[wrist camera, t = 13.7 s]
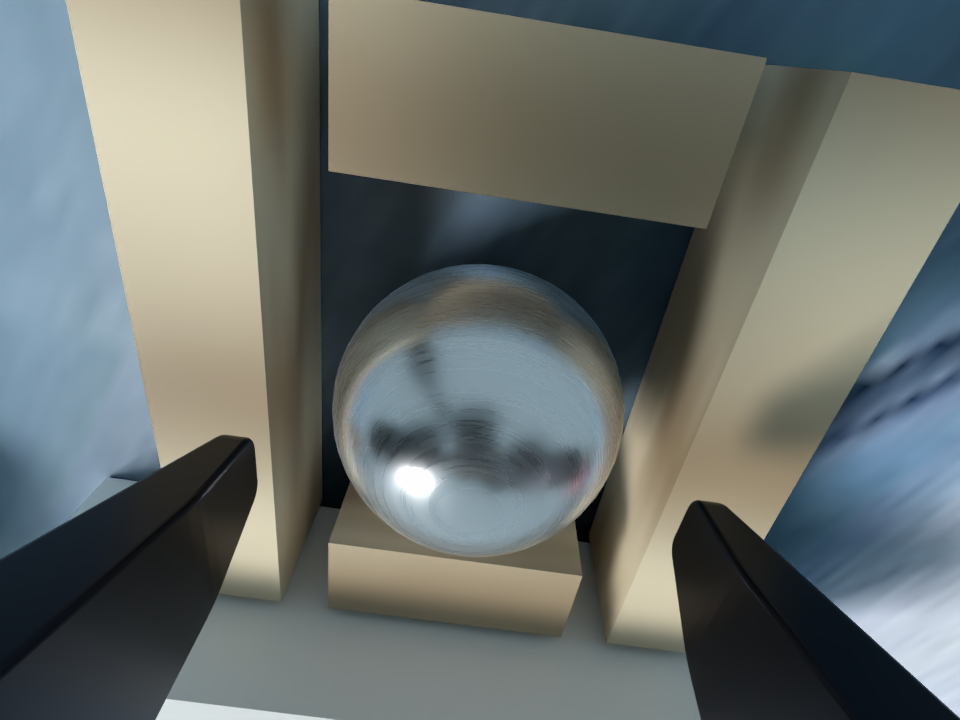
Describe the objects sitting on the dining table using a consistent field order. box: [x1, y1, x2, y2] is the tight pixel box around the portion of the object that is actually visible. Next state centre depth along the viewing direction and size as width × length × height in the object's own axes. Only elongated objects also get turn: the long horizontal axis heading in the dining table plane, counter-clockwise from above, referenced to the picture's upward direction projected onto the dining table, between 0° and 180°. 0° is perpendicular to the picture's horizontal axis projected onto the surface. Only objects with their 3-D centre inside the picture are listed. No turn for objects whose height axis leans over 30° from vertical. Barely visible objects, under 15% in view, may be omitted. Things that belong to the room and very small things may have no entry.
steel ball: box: [332, 264, 624, 557], centre depth 10 cm, size 5×5×5 cm
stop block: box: [68, 477, 701, 720], centre depth 13 cm, size 2×18×5 cm, turn 82°
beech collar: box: [66, 0, 960, 653], centre depth 10 cm, size 11×11×3 cm
